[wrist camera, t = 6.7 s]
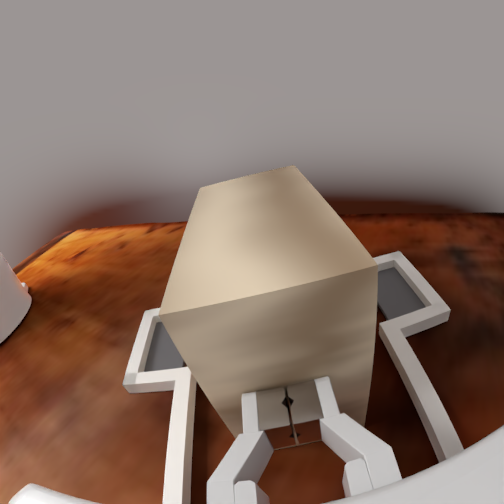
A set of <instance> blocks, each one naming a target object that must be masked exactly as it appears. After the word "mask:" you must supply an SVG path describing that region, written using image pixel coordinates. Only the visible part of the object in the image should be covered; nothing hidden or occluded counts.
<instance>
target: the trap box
mask: <svg viewBox="0 0 504 504" xmlns="http://www.w3.org/2000/svg"><path fill="white" fill-rule="evenodd" d="M373 259H374V260H375V262H376V263H377V264H378V292H377V305H378V306H379V308H380V310H381V311H382V313H383V315H384V316H385V318H386V320H387V321H385V322H381V323H379V335H380V337H381V339H382V341H383V343H384V345H385V347H386V349H387V351H388V353H389V355H390V357H391V359H392V360H393V362H394V364H395V366H396V368H397V370H398V372H399V374H400V377H401V379H402V381H403V383H404V385H405V387H406V389H407V391H408V393H409V395H410V397H411V399H412V402H413V404H414V406H415V408H416V410H417V412H418V415H419V417H420V419H421V421H422V424H423V426H424V428H425V430H426V433H427V435H428V437H429V440H430V442H431V444H432V447H433V449H434V452H435V454H436V456H437V459H438V461H439V463H440V462H442V461H444V460H446V459H448V458H450V457H452V456H454V455H456V454H457V453H459V452H461V451H463V450H464V448H463V446H462V444H461V442H460V440H459V437H458V435H457V433H456V431H455V429H454V427H453V425H452V423H451V421H450V419H449V417H448V415H447V413H446V411H445V409H444V407H443V405H442V403H441V401H440V399H439V397H438V395H437V393H436V391H435V389H434V388H433V386H432V384H431V382H430V380H429V378H428V377H427V375H426V373H425V371H424V369H423V368H422V366H421V364H420V362H419V360H418V359H417V357H416V355H415V354H414V352H413V350H412V348H411V347H410V345H409V343H408V342H407V340H406V338H405V337H408V336H410V335H413V334H416V333H418V332H421V331H423V330H426V329H429V328H431V327H434V326H436V325H439V324H441V323H443V322H446V321H448V318H449V314H450V310H451V309H450V308H449V307H448V306H447V304H446V303H445V302H444V301H443V300H442V298H441V297H440V296H439V295H438V294H437V292H436V291H435V290H434V289H433V288H432V287H431V285H430V284H429V283H428V282H427V281H426V280H425V279H424V277H423V276H422V275H421V274H420V273H419V272H418V271H417V270H416V269H415V267H414V266H413V265H412V264H411V263H410V262H409V261H408V260H407V259H406V258H405V257H404V255H403V254H402V253H401V252H400V251H397V252H393V253H390V254H386V255H382V256H379V257H375V258H373ZM159 311H160V308H156V309H151V310H146V311H145V312H144V315H143V318H142V321H141V324H140V327H139V331H138V334H137V337H136V340H135V343H134V346H133V350H132V353H131V356H130V360H129V363H128V366H127V370H126V373H125V377H124V380H123V384H122V385H123V386H124V387H125V389H126V390H127V391H128V392H129V393H143V392H156V391H168V390H174V395H173V402H172V410H171V419H170V427H169V436H168V446H167V456H166V467H165V478H164V491H163V504H190V500H191V468H192V446H193V427H194V411H195V397H196V383H197V381H196V379H195V378H194V376H193V374H192V373H191V371H190V370H189V368H188V367H184V366H185V361H184V360H183V358H182V356H181V355H180V353H179V351H178V349H177V348H176V346H175V344H174V342H173V341H172V339H171V337H170V335H169V334H168V332H167V330H166V328H165V326H164V325H163V323H162V321H161V319H160V317H159Z"/></svg>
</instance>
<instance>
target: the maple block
mask: <svg viewBox="0 0 504 504" xmlns="http://www.w3.org/2000/svg"><path fill="white" fill-rule="evenodd" d="M377 292H378V264H377V263H376V262H375V260H374V259H373V258H372V257H371V255H370V254H369V253H368V251H367V250H366V249H365V248H364V246H363V245H362V244H361V243H360V241H359V240H358V239H357V238H356V236H355V235H354V234H353V233H352V231H351V230H350V229H349V228H348V227H347V225H346V224H345V223H344V222H343V221H342V219H341V218H340V217H339V216H338V215H337V213H336V212H335V211H334V210H333V209H332V207H331V206H330V205H329V204H328V203H327V202H326V201H325V199H324V198H323V197H322V196H321V195H320V194H319V192H318V191H317V190H316V189H315V188H314V187H313V186H312V185H311V183H310V182H309V181H308V180H307V179H306V178H305V177H304V176H303V175H302V174H301V172H300V171H299V170H298V169H297V168H296V167H295V166H294V165H292V166H288V167H283V168H278V169H274V170H269V171H265V172H261V173H257V174H253V175H248V176H244V177H240V178H236V179H232V180H228V181H225V182H220V183H216V184H213V185H209V186H206V187H202V188H200V190H199V192H198V195H197V198H196V201H195V204H194V206H193V209H192V212H191V215H190V217H189V220H188V223H187V226H186V229H185V232H184V235H183V238H182V241H181V244H180V247H179V250H178V253H177V256H176V259H175V262H174V265H173V268H172V271H171V275H170V278H169V281H168V284H167V288H166V291H165V294H164V297H163V301H162V304H161V308H160V311H159V317H160V319H161V321H162V323H163V325H164V326H165V328H166V330H167V332H168V334H169V335H170V337H171V339H172V341H173V342H174V344H175V346H176V348H177V349H178V351H179V353H180V355H181V356H182V358H183V360H184V361H185V363H186V365H187V366H188V368H189V370H190V371H191V373H192V374H193V376H194V378H195V379H196V381H197V382H198V384H199V386H200V387H201V389H202V390H203V392H204V393H205V395H206V396H207V398H208V399H209V401H210V402H211V404H212V405H213V407H214V408H215V410H216V411H217V413H218V414H219V416H220V417H221V419H222V420H223V421H224V423H225V424H226V426H227V427H228V429H229V430H230V431H231V433H232V434H233V436H234V437H235V438H237V437H238V435H239V434H242V433H243V419H242V394H245V393H251V392H258V391H263V390H269V389H274V388H280V387H284V388H285V391H286V396H287V398H288V402H289V406H290V407H291V405H290V401H289V397H288V392H287V386H288V385H292V384H296V383H301V382H305V381H309V380H312V379H318V378H322V377H325V376H328V377H329V378H330V381H331V384H332V388H333V391H334V394H335V398H336V401H337V405H338V408H339V411H340V414H342V413H345V414H346V415H348V416H349V417H350V418H352V419H353V420H354V421H356V422H357V423H359V424H360V425H361V426H363V427H364V425H365V419H366V413H367V407H368V400H369V393H370V385H371V377H372V368H373V358H374V347H375V334H376V318H377ZM290 411H291V409H290ZM291 416H292V415H291ZM291 422H292V425H293V420H292V421H291ZM293 429H294V425H293ZM294 434H295V440H296V445H293V446H288V447H294V446H299V445H304V444H308V443H313V442H317V441H313V442H308V443H303V444H299V442H298V439H297V435H296V433H295V429H294ZM318 441H321V440H318ZM288 447H284V448H288ZM279 449H283V448H279ZM273 450H277V449H273Z"/></svg>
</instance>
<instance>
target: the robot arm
mask: <svg viewBox="0 0 504 504" xmlns="http://www.w3.org/2000/svg"><path fill="white" fill-rule="evenodd" d="M31 301H32V298H31V296H30V295H29V294H28V286H27V285H26V284H25V283H21V282H20V281H19V279H18V278H17V276H16V275H15V273H14V272H13V270H12V269H11V267H10V266H9V264H8V263H7V261H6V259H5V258H4V256H3V255H2V253H1V252H0V343H1V342H2V341H3V340H5V339H6V338H7V337H8V336H9V335H10V334H11V333H12V331H13V330H14V329H15V328H16V327H17V326H18V325H19V323H20V322H21V321H22V319H23V318H24V316H25V315H26V313H27V311H28V310H29V308H30V305H31ZM287 392H288V397H289V401H290V405H291V407H290V406H289V402H288V398H287V396H286V391H285V388H284V387H280V388H274V389H269V390H263V391H258V392H251V393H245V394H242V419H243V433H242V434H239V435H238V437H237V438H236V440H235V441H234V443H233V444H232V446H231V448H230V449H229V451H228V452H227V454H226V455H225V457H224V458H223V460H222V461H221V463H220V464H219V466H218V467H217V468H216V470H215V471H214V473H213V474H212V476H211V477H210V479H209V480H208V481H207V504H270V502H269V496H268V495H267V494H265V493H264V492H263V491H262V490H261V489H260V488H259V487H258V485H257V483H258V481H259V479H260V477H261V475H262V473H263V471H264V469H265V468H266V466H267V464H268V462H269V460H270V458H271V456H272V453H273V451H274V450H273V449H279V448H284V447H288V446H293V445H296V440H295V434H294V429H295V433H296V435H297V439H298V442H299V444H303V443H308V442H313V441H318V440H322V441H323V442H324V443H325V444H326V445H327V446H328V447H329V448H330V449H332V450H333V451H334V452H335V453H336V454H337V455H338V456H339V457H340V458H341V459H343V460H344V461H345V462H346V465H345V468H344V475H343V482H342V483H343V488H344V492H345V497H346V498H343V499H339V500H335V501H331V502H327V503H322V504H504V425H503V426H501V427H500V428H499V429H497V430H496V431H494V432H493V433H491V434H489V435H488V436H486V437H485V438H483V439H482V440H480V441H478V442H477V443H475V444H473V445H472V446H470V447H468V448H466V449H465V450H463V451H461V452H459V453H457V454H456V455H454V456H452V457H450V458H448V459H446V460H444V461H442V462H440V463H438V464H436V465H434V466H432V467H430V468H427V469H425V470H423V471H421V472H418V473H416V474H414V475H411V476H409V477H407V478H404V479H402V477H401V474H400V471H399V468H398V465H397V462H396V459H395V456H394V453H393V450H392V448H391V446H389V445H388V444H386V443H385V442H383V441H382V440H381V439H379V438H378V437H376V436H375V435H374V434H372V433H371V432H369V431H368V430H367V429H365V428H364V427H363V426H361V425H360V424H359V423H357V422H356V421H354V420H353V419H352V418H350V417H349V416H348V415H346V414H345V413H342V414H340V411H339V408H338V405H337V401H336V398H335V394H334V391H333V388H332V384H331V381H330V378H329V377H328V376H325V377H322V378H318V379H312V380H309V381H305V382H301V383H296V384H292V385H288V386H287ZM290 409H291V411H290ZM291 415H292V416H291ZM292 420H293V425H294V429H293V425H292V422H291V421H292ZM9 504H101V503H96V502H92V501H88V500H84V499H80V498H77V497H73V496H70V495H66V494H63V493H60V492H57V491H54V490H51V489H48V488H45V487H42V486H40V485H37V484H33V483H31V484H28V485H26V486H25V487H24V488H22V489H21V490H20V491H19V492H18V493H17V494H16V495H14V496H13V497H12V498H11V500H10V501H9Z"/></svg>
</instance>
